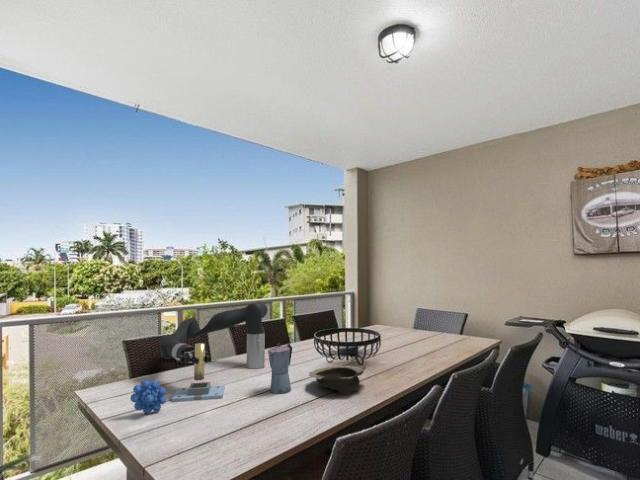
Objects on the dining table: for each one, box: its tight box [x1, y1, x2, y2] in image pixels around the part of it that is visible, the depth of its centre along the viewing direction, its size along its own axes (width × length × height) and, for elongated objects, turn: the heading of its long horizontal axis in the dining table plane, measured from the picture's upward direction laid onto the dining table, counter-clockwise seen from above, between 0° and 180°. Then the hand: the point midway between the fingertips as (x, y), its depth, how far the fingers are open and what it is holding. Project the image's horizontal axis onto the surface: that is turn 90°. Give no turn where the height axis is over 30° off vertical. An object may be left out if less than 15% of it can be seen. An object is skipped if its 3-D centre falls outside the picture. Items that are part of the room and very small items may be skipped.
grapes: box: [130, 379, 167, 415], centre depth 124 cm, size 12×7×12 cm, turn 120°
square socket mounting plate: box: [171, 381, 226, 403], centre depth 144 cm, size 19×12×4 cm, turn 101°
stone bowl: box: [308, 365, 367, 396], centre depth 152 cm, size 25×25×9 cm
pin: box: [193, 342, 206, 381], centre depth 144 cm, size 4×4×14 cm
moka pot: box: [267, 341, 293, 395], centre depth 150 cm, size 10×15×20 cm, turn 152°
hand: (202, 360), depth 143 cm, fingers closed on pin, 4 cm apart
